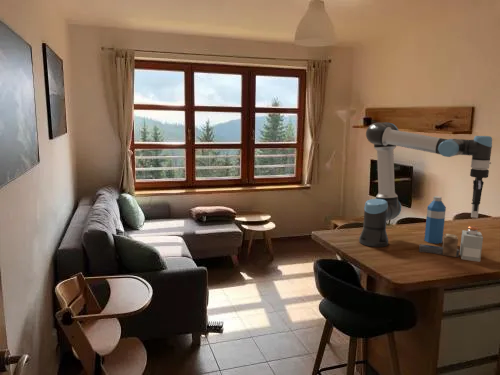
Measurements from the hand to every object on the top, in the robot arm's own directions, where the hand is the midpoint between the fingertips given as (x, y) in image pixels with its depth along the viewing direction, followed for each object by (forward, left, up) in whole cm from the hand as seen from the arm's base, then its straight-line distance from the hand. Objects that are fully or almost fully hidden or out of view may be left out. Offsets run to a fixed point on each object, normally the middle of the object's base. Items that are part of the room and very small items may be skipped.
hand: (474, 217), depth 193 cm
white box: (0, 0, -20) cm, 20 cm away
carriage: (-9, 0, -20) cm, 22 cm away
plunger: (0, 0, -11) cm, 11 cm away
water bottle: (-16, +21, -21) cm, 33 cm away
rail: (-14, 0, -20) cm, 25 cm away
